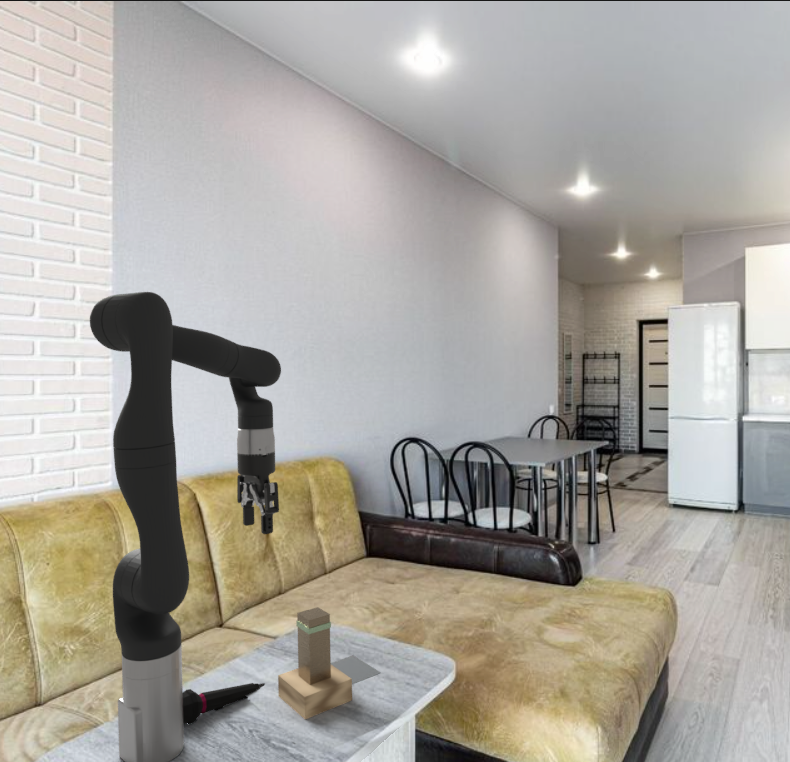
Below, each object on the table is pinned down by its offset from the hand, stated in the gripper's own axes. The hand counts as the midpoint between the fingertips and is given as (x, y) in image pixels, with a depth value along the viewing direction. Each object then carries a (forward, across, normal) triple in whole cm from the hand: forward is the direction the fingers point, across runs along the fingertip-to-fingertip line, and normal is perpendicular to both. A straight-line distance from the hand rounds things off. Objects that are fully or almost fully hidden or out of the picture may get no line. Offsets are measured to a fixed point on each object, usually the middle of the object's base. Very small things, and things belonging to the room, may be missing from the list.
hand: (257, 529), depth 128 cm
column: (+25, +17, +3) cm, 30 cm away
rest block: (+30, +17, +3) cm, 35 cm away
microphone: (+31, +7, -11) cm, 33 cm away
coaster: (+30, +12, +13) cm, 35 cm away
